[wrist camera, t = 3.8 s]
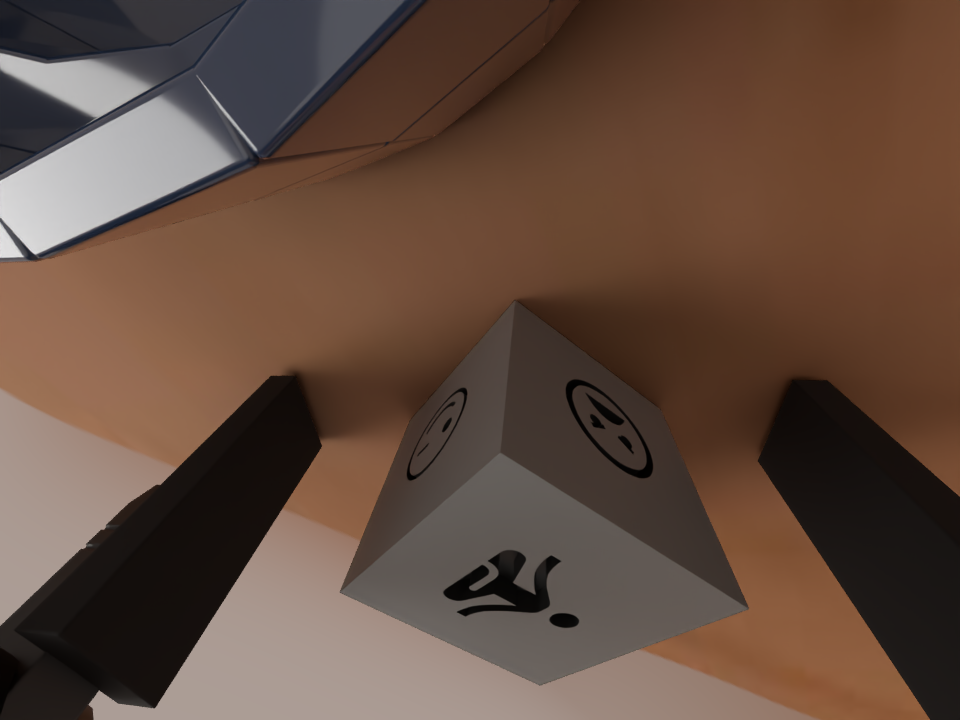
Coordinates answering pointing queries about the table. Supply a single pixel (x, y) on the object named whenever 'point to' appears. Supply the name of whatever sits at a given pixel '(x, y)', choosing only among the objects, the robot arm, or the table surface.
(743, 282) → the table surface
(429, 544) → the dice cube
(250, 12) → the blue round bowl
